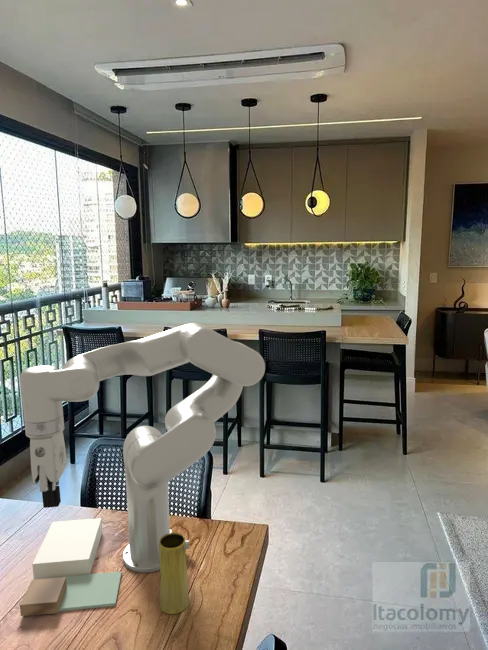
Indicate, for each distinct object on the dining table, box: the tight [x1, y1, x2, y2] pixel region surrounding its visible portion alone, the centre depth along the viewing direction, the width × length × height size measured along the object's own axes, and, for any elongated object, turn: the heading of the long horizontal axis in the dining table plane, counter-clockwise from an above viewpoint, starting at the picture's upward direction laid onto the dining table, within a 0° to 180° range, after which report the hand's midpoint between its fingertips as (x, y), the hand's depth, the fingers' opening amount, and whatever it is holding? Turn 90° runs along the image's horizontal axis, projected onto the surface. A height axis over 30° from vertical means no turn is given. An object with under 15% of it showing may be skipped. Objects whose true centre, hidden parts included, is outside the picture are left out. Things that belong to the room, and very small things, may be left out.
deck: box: [31, 517, 103, 580], centre depth 110 cm, size 12×16×4 cm
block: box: [19, 577, 67, 617], centre depth 95 cm, size 7×7×2 cm
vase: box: [158, 532, 190, 615], centre depth 94 cm, size 6×6×14 cm
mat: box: [47, 570, 122, 612], centre depth 98 cm, size 16×10×1 cm, turn 97°
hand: (52, 505), depth 100 cm, fingers closed
